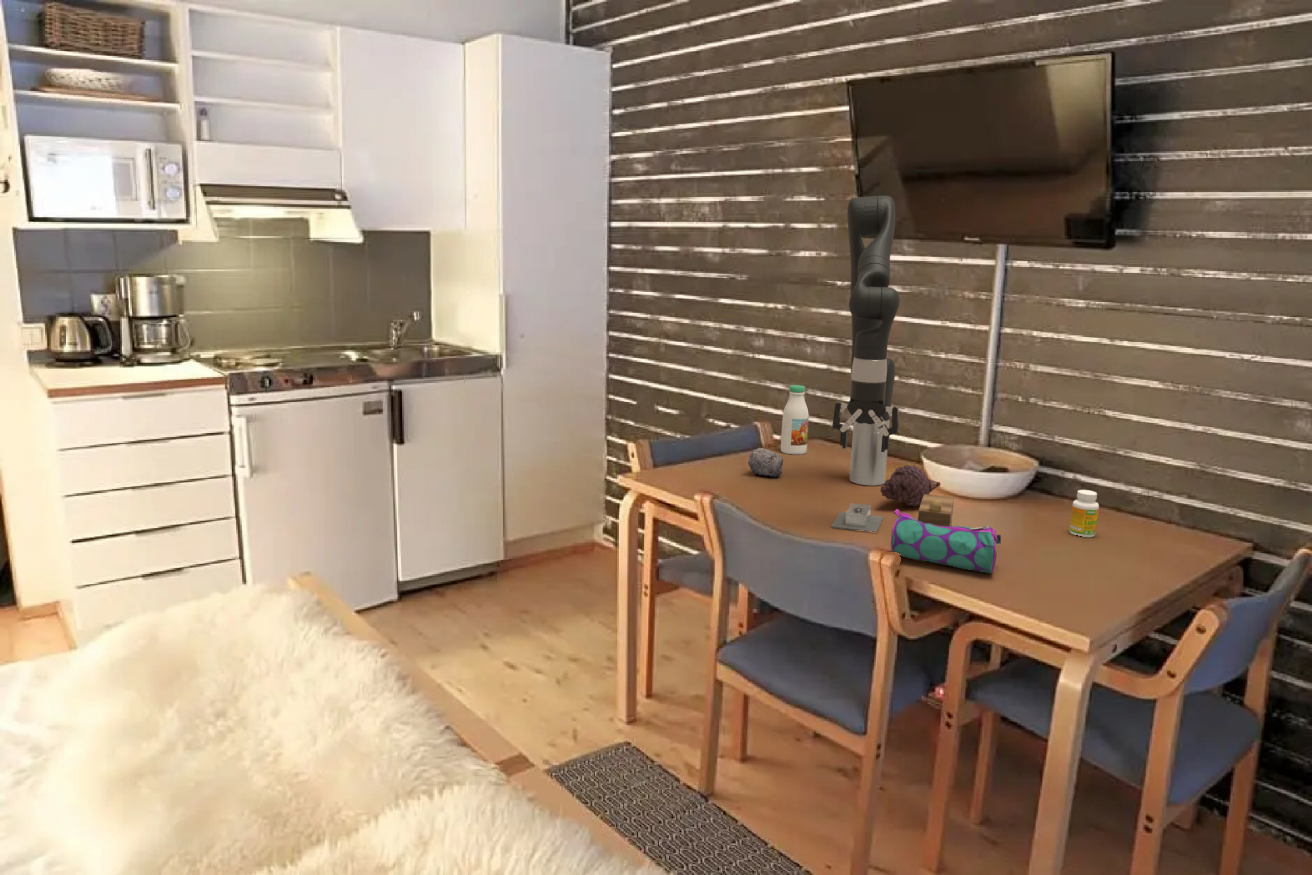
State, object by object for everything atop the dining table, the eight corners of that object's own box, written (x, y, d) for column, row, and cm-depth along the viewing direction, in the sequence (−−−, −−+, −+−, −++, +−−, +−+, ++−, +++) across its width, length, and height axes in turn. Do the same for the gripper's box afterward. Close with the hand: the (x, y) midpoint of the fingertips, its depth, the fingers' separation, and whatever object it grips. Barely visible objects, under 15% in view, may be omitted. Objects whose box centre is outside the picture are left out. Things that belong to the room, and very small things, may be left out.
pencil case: (998, 566, 192) (1003, 520, 190) (993, 580, 184) (998, 532, 182) (894, 549, 201) (898, 505, 198) (885, 561, 193) (889, 516, 191)
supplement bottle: (1084, 539, 210) (1089, 496, 208) (1063, 531, 215) (1068, 490, 212) (1100, 535, 212) (1106, 494, 210) (1080, 528, 217) (1085, 487, 215)
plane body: (920, 525, 217) (924, 485, 214) (951, 529, 214) (955, 488, 212) (914, 544, 203) (918, 501, 201) (948, 548, 201) (952, 505, 199)
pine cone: (892, 515, 223) (895, 474, 221) (864, 504, 232) (867, 465, 230) (948, 507, 232) (951, 467, 229) (919, 496, 240) (922, 458, 238)
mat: (839, 513, 224) (840, 511, 224) (883, 518, 221) (883, 516, 221) (831, 527, 213) (831, 525, 213) (876, 533, 210) (876, 531, 210)
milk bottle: (780, 454, 281) (783, 387, 277) (781, 448, 289) (784, 383, 284) (806, 455, 280) (810, 388, 276) (806, 449, 287) (810, 384, 283)
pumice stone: (789, 484, 257) (768, 466, 265) (796, 459, 254) (774, 442, 261) (758, 488, 252) (738, 469, 259) (765, 462, 248) (744, 444, 256)
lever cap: (850, 515, 221) (851, 501, 221) (870, 517, 220) (871, 503, 219) (845, 525, 214) (846, 510, 213) (865, 527, 213) (866, 513, 212)
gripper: (903, 378, 211) (897, 449, 215) (839, 373, 215) (834, 443, 219) (900, 383, 204) (894, 456, 208) (833, 378, 209) (829, 450, 212)
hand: (863, 449), depth 213 cm, fingers open, 8 cm apart
